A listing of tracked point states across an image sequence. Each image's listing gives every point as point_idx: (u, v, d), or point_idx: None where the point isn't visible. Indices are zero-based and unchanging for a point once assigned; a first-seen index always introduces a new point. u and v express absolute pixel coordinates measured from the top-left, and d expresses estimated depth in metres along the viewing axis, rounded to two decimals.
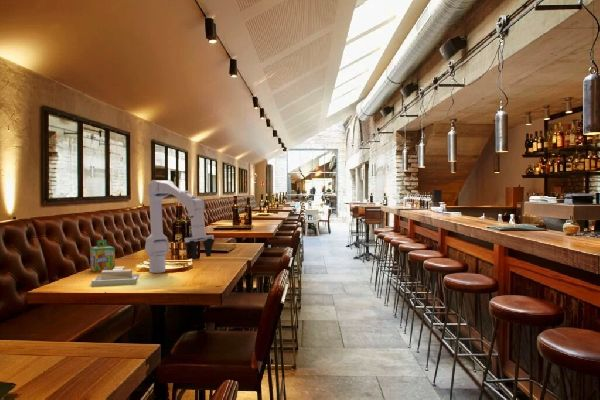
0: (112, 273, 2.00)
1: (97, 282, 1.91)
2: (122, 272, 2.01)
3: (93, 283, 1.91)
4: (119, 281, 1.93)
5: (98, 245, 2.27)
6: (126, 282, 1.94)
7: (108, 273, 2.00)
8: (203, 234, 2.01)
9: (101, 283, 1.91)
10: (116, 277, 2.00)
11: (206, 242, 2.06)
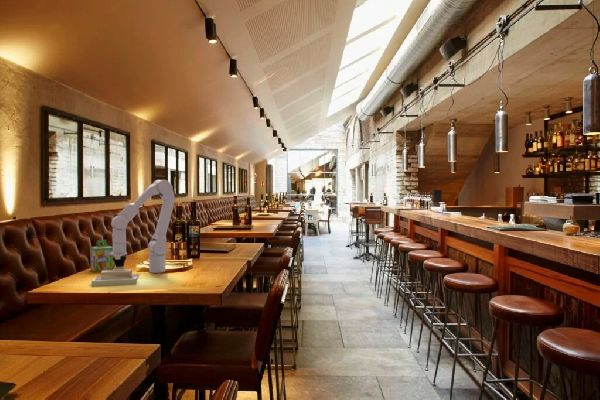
0: (112, 273, 1.99)
1: (97, 282, 1.91)
2: (122, 272, 2.00)
3: (93, 283, 1.91)
4: (119, 281, 1.93)
5: (98, 245, 2.27)
6: (126, 282, 1.94)
7: (108, 273, 1.99)
8: None
9: (101, 283, 1.91)
10: (115, 277, 2.00)
11: None
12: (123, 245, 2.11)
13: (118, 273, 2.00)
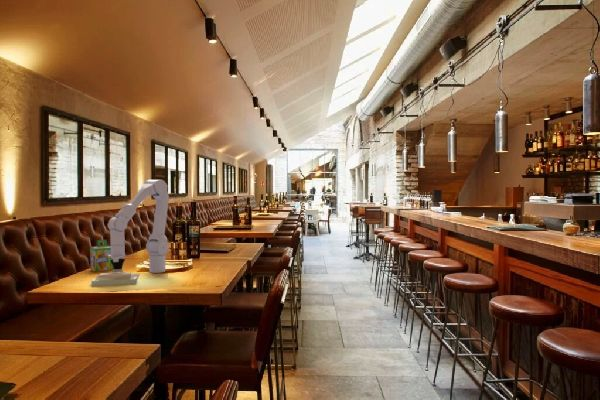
0: (110, 276, 1.93)
1: (97, 282, 1.91)
2: (120, 275, 1.94)
3: (93, 283, 1.91)
4: (119, 281, 1.93)
5: (98, 245, 2.27)
6: (126, 282, 1.94)
7: (106, 276, 1.93)
8: None
9: (101, 283, 1.91)
10: None
11: None
12: (121, 247, 2.04)
13: (116, 276, 1.94)
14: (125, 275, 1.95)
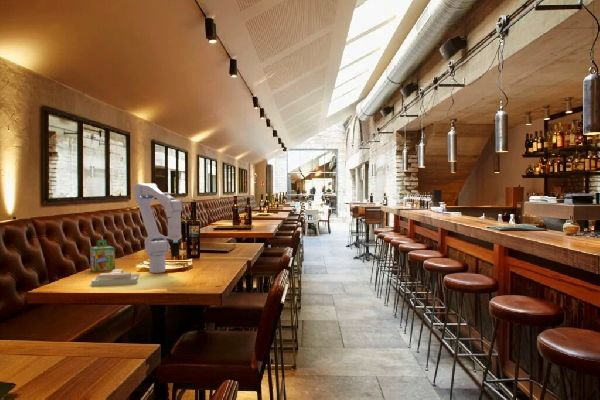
0: (110, 276, 1.93)
1: (97, 282, 1.91)
2: (120, 275, 1.94)
3: (93, 283, 1.91)
4: (119, 281, 1.93)
5: (98, 245, 2.27)
6: (126, 282, 1.94)
7: (106, 276, 1.93)
8: None
9: (101, 283, 1.91)
10: None
11: None
12: (179, 229, 2.10)
13: (116, 276, 1.94)
14: (125, 275, 1.95)
